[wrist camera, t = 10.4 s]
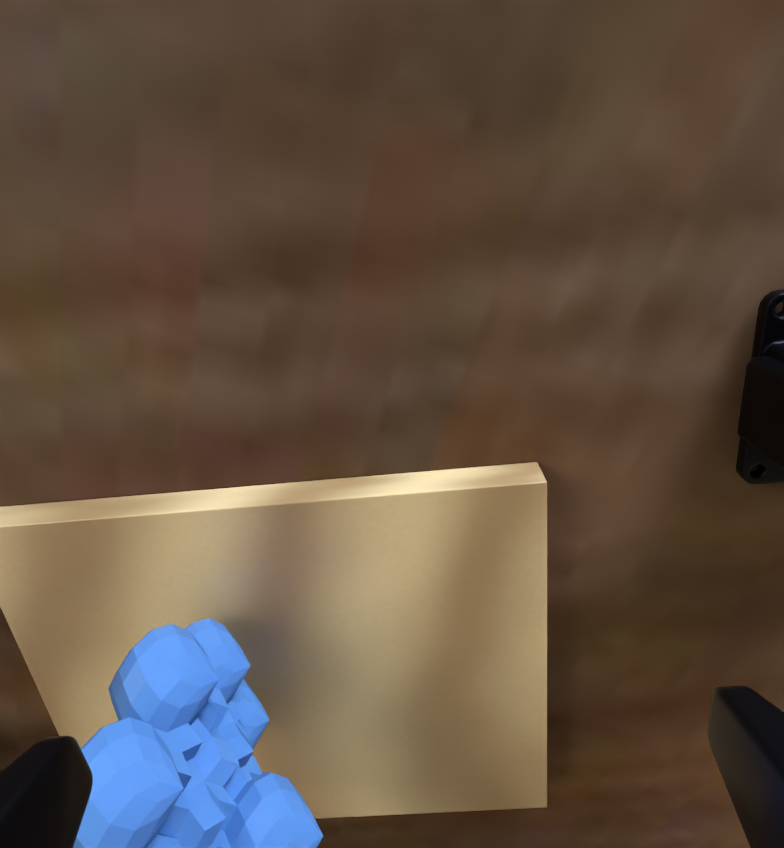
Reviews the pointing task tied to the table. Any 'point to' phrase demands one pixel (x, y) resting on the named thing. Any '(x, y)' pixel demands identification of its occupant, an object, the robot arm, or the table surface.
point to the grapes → (187, 753)
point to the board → (317, 623)
